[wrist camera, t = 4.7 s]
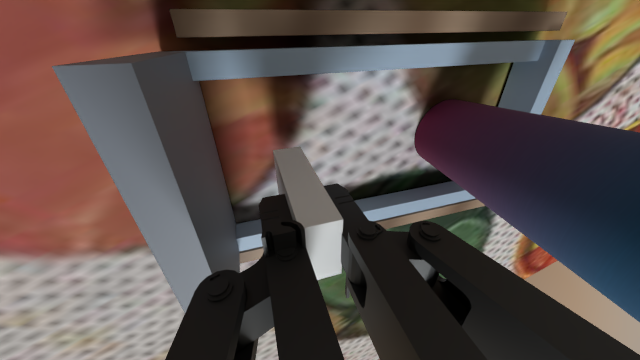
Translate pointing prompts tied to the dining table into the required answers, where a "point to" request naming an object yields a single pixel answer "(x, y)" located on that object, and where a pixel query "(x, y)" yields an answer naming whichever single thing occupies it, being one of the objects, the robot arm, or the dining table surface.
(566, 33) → the dining table surface
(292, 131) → the dining table surface
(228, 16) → the lane guides
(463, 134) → the cup
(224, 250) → the frame
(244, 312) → the robot arm
